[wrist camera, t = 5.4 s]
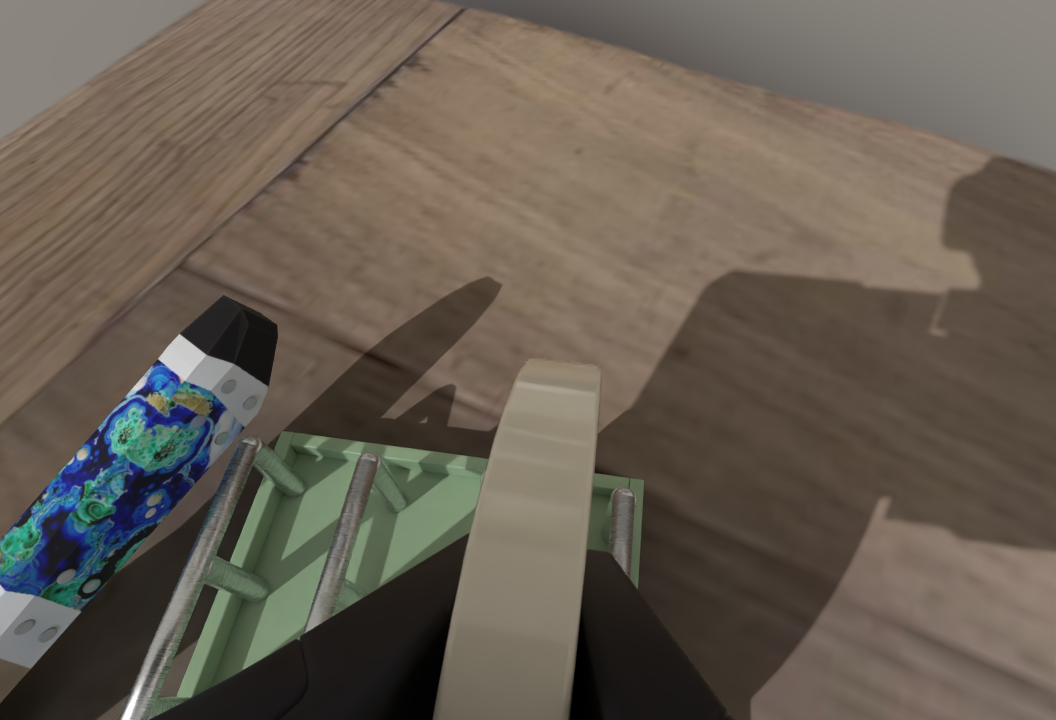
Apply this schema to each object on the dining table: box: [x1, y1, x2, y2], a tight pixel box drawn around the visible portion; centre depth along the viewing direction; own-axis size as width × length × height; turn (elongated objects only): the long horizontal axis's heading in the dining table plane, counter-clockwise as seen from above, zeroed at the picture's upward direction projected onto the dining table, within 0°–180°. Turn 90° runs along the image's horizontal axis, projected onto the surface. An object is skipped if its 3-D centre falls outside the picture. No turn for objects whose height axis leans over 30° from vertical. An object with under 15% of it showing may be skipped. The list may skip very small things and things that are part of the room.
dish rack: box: [119, 431, 644, 720], centre depth 13 cm, size 11×10×4 cm
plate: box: [432, 357, 602, 720], centre depth 10 cm, size 10×1×10 cm, turn 171°
